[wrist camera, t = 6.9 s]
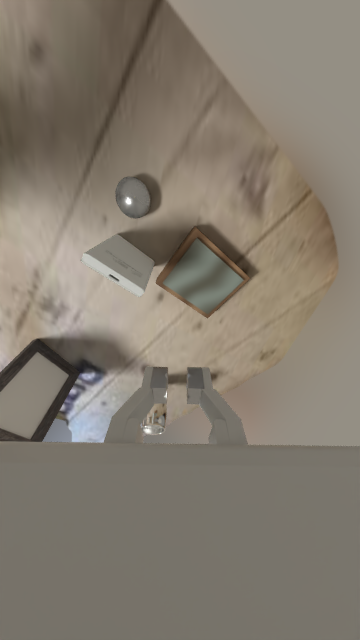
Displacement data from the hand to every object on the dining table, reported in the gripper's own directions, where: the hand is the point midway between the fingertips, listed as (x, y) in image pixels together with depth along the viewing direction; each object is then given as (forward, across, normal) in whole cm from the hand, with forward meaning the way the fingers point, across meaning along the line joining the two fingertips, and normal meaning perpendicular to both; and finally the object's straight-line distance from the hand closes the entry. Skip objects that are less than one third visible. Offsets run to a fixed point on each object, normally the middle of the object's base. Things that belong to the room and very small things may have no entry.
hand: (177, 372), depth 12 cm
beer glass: (+26, +7, +39) cm, 47 cm away
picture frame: (+25, +35, +28) cm, 51 cm away
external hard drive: (+25, +8, -2) cm, 27 cm away
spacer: (+25, +7, -10) cm, 28 cm away
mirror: (+26, -4, +2) cm, 26 cm away
